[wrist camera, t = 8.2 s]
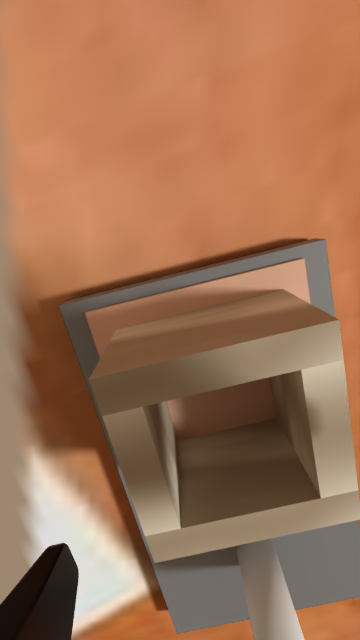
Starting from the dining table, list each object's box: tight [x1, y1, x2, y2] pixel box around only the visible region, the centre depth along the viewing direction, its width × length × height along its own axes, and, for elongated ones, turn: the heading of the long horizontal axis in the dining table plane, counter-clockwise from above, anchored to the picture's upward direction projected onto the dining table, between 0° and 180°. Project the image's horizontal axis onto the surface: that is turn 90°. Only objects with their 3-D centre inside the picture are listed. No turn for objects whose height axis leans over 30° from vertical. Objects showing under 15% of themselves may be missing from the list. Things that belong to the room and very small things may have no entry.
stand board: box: [59, 239, 360, 640], centre depth 14 cm, size 20×11×6 cm, turn 14°
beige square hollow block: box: [89, 289, 360, 563], centre depth 12 cm, size 7×7×4 cm
